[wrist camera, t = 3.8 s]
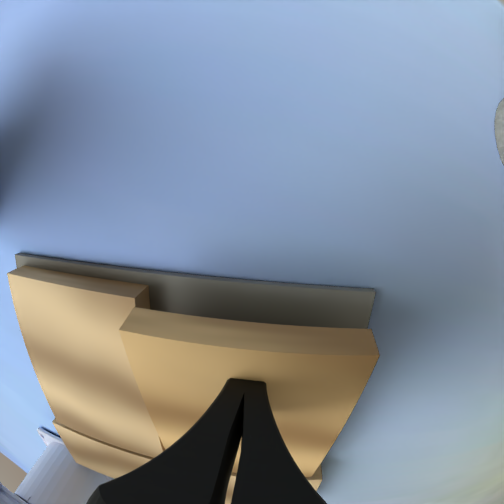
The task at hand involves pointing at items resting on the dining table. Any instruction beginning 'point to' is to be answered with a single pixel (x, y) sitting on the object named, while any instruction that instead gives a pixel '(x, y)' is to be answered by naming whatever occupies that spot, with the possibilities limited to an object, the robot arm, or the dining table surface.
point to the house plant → (500, 129)
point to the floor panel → (113, 352)
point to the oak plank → (250, 374)
